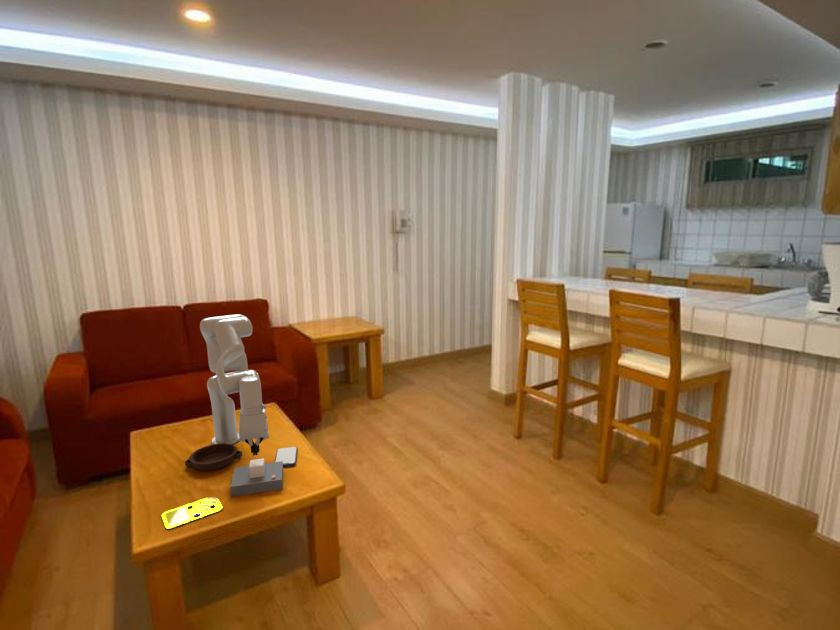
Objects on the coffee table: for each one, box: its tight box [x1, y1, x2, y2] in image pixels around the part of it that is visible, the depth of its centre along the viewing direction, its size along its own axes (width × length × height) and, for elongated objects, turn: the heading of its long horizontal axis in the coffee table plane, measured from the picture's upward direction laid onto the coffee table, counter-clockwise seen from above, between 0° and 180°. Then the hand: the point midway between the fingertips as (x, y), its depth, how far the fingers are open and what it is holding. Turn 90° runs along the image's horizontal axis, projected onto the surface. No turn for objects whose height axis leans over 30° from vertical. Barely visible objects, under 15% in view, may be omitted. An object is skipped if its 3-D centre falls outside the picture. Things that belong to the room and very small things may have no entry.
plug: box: [248, 457, 266, 478], centre depth 176 cm, size 6×5×8 cm
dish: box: [184, 443, 243, 472], centre depth 192 cm, size 17×22×5 cm
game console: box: [161, 496, 224, 531], centre depth 159 cm, size 18×11×2 cm, turn 129°
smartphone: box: [274, 446, 298, 468], centre depth 196 cm, size 9×2×16 cm
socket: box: [230, 461, 284, 498], centre depth 177 cm, size 14×18×5 cm
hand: (255, 453), depth 175 cm, fingers closed
